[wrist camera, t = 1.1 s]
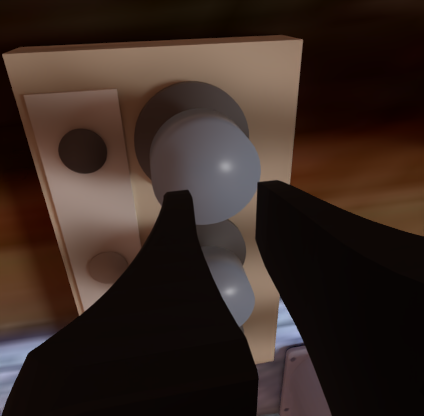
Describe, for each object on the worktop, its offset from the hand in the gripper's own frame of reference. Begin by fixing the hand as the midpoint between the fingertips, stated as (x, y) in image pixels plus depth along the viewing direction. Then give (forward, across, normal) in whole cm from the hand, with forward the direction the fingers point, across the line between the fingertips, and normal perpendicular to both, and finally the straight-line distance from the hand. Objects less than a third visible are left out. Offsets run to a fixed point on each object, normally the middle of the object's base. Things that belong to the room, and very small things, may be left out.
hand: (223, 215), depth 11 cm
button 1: (+5, 0, 0) cm, 5 cm away
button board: (+9, +1, +6) cm, 11 cm away
